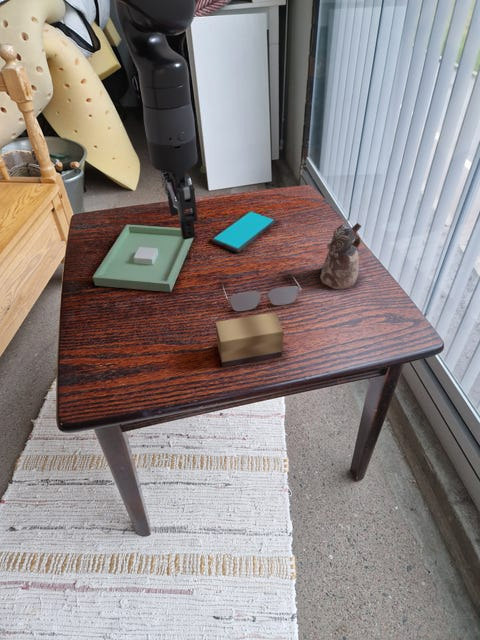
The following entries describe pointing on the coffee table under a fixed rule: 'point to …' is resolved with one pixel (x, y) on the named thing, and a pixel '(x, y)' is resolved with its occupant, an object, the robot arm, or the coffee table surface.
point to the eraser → (249, 339)
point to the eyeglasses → (252, 298)
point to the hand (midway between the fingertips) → (182, 225)
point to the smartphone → (243, 231)
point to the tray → (154, 277)
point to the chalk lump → (145, 255)
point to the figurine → (342, 258)
